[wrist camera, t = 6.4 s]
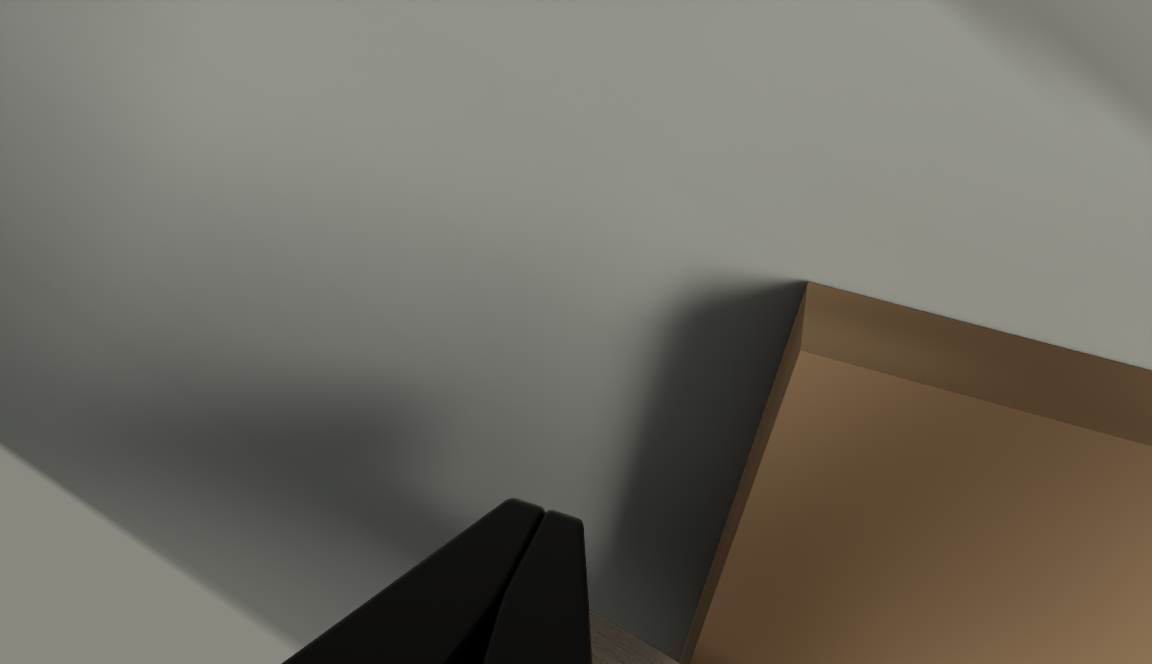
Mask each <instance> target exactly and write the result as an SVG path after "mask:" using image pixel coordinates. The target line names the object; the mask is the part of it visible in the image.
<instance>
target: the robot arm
mask: <svg viewBox="0 0 1152 664" xmlns="http://www.w3.org/2000/svg"><path fill="white" fill-rule="evenodd" d="M282 664H593V663H592V648H591V632H590V617H589V601H588V586H587V571H586V555H585V540H584V526H583V523H582V521H581V520H580V519H578V518H576V517H572V516H569V515H566V514H563V513H560V512H557V511H554V510H549V511H547V512H546V513H545V510H544V509H543V508H542V507H541V506H538V505H535V504H531V503H528V502H525V501H522V500H519V499H516V498H511V499H508V500H506V501H504V502H503V503H501V504H500V505H499V506H497V507H496V508H495V509H493V510H492V511H490V512H489V513H488V514H486V515H485V516H484V517H482V518H481V519H479V520H478V521H477V522H475V523H474V524H473V525H471V526H470V527H468V528H467V529H466V530H464V531H463V532H462V533H460V534H459V535H458V536H456V537H455V538H453V539H452V540H451V541H449V542H448V543H447V544H445V545H444V546H442V547H441V548H440V549H438V550H437V551H436V552H434V553H433V554H431V555H430V556H429V557H427V558H426V559H425V560H423V561H422V562H420V563H419V564H418V565H416V566H415V567H414V568H412V569H411V570H410V571H408V572H407V573H405V574H404V575H403V576H401V577H400V578H399V579H397V580H396V581H394V582H393V583H392V584H390V585H389V586H388V587H386V588H385V589H383V590H382V591H381V592H379V593H378V594H377V595H375V596H374V597H372V598H371V599H370V600H368V601H367V602H366V603H364V604H363V605H361V606H360V607H359V608H357V609H356V610H355V611H353V612H352V613H351V614H349V615H348V616H346V617H345V618H344V619H342V620H341V621H340V622H338V623H337V624H335V625H334V626H333V627H331V628H330V629H329V630H327V631H326V632H324V633H323V634H322V635H320V636H319V637H318V638H316V639H315V640H313V641H312V642H311V643H309V644H308V645H307V646H305V647H304V648H303V649H301V650H300V651H298V652H297V653H296V654H294V655H293V656H292V657H290V658H289V659H287V660H286V661H285V662H283V663H282Z"/></svg>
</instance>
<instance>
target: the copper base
mask: <svg viewBox="0 0 1152 664" xmlns="http://www.w3.org/2000/svg"><path fill="white" fill-rule="evenodd" d="M678 663H680V664H1152V371H1149V370H1145V369H1141V368H1137V367H1134V366H1130V365H1126V364H1122V363H1118V362H1114V361H1111V360H1107V359H1103V358H1099V357H1095V356H1091V355H1088V354H1084V353H1080V352H1076V351H1072V350H1068V349H1064V348H1061V347H1057V346H1053V345H1049V344H1045V343H1041V342H1038V341H1034V340H1030V339H1026V338H1022V337H1018V336H1014V335H1011V334H1007V333H1003V332H999V331H995V330H991V329H988V328H984V327H980V326H976V325H972V324H968V323H965V322H961V321H957V320H953V319H949V318H945V317H941V316H938V315H934V314H930V313H926V312H922V311H918V310H915V309H911V308H907V307H903V306H899V305H895V304H892V303H888V302H884V301H880V300H876V299H872V298H868V297H865V296H861V295H857V294H853V293H849V292H845V291H842V290H838V289H834V288H830V287H826V286H822V285H819V284H815V283H811V282H808V283H807V286H806V289H805V292H804V295H803V298H802V301H801V304H800V306H799V309H798V312H797V315H796V318H795V321H794V324H793V327H792V330H791V333H790V336H789V339H788V342H787V345H786V348H785V350H784V353H783V356H782V359H781V362H780V365H779V368H778V371H777V374H776V377H775V380H774V383H773V386H772V389H771V392H770V394H769V397H768V400H767V403H766V406H765V409H764V412H763V415H762V418H761V421H760V424H759V427H758V430H757V433H756V436H755V438H754V441H753V444H752V447H751V450H750V453H749V456H748V459H747V462H746V465H745V468H744V471H743V474H742V477H741V480H740V482H739V485H738V488H737V491H736V494H735V497H734V500H733V503H732V506H731V509H730V512H729V515H728V518H727V521H726V523H725V526H724V529H723V532H722V535H721V538H720V541H719V544H718V547H717V550H716V553H715V556H714V559H713V562H712V565H711V567H710V570H709V573H708V576H707V579H706V582H705V585H704V588H703V591H702V594H701V597H700V600H699V603H698V606H697V609H696V611H695V614H694V617H693V620H692V623H691V626H690V629H689V632H688V635H687V638H686V641H685V644H684V647H683V650H682V653H681V655H680V658H679V661H678Z"/></svg>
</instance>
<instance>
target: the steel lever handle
mask: <svg viewBox="0 0 1152 664" xmlns="http://www.w3.org/2000/svg"><path fill="white" fill-rule="evenodd" d="M589 617H590V632H591V648H592V663H593V664H680V663H678V662H677V661H675V660H673V659H672V658H670V657H668V656H667V655H665V654H663V653H662V652H660V651H658V650H657V649H655V648H653V647H652V646H650V645H648V644H646V643H645V642H643V641H641V640H640V639H638V638H636V637H635V636H633V635H631V634H630V633H628V632H626V631H625V630H623V629H621V628H620V627H618V626H616V625H615V624H613V623H611V622H610V621H608V620H606V619H604V618H603V617H601V616H599V615H598V614H596V613H594V612H593V611H591V610H589Z"/></svg>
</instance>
